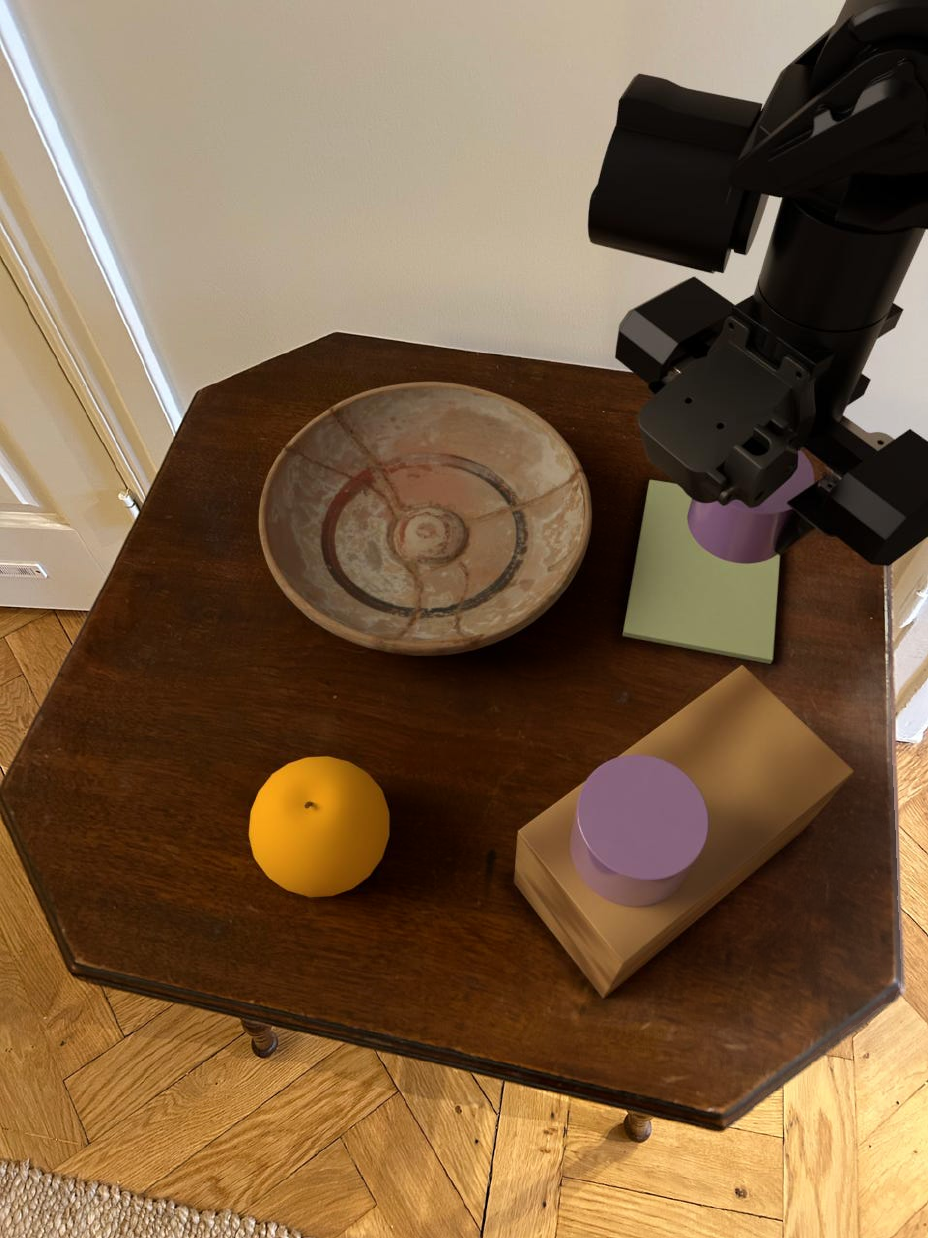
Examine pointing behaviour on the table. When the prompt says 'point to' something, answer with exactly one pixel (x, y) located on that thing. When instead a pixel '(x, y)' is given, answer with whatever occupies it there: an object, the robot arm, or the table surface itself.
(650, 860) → the lavender cylinder puck
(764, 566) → the placemat
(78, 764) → the table surface
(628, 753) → the block
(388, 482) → the ceramic bowl
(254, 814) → the orange
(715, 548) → the purple round puck
